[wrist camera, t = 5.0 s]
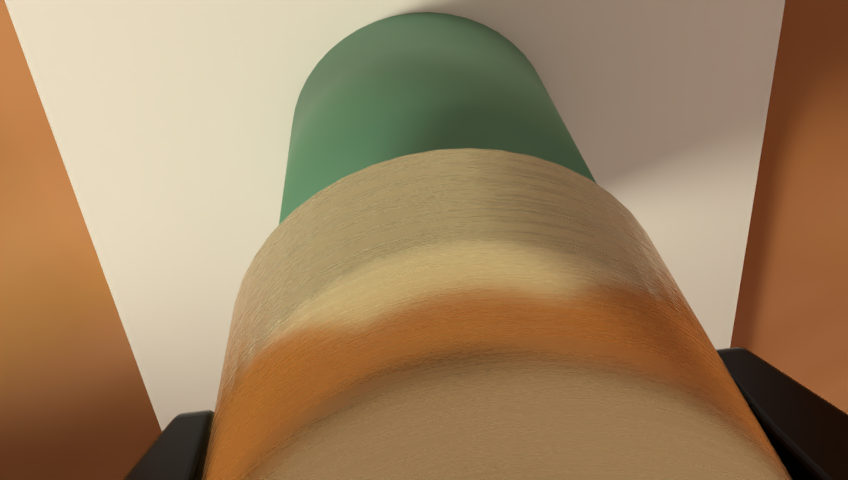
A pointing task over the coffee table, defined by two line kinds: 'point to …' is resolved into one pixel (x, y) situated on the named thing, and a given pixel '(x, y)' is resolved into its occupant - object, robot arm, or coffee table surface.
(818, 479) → the robot arm
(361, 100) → the neck block
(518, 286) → the cap
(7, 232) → the coffee table surface
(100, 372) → the coffee table surface
